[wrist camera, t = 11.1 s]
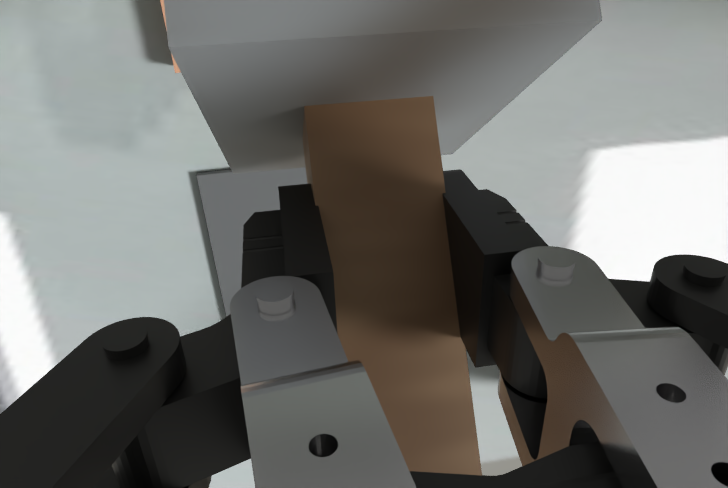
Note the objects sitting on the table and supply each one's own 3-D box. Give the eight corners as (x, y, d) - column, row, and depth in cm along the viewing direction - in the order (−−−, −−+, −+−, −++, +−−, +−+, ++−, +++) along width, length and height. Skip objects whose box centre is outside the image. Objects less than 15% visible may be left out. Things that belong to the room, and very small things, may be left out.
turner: (591, -47, 8) (690, 601, 8) (447, 118, 16) (490, 445, 16) (161, -27, 8) (230, 694, 7) (229, 136, 16) (264, 481, 15)
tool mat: (382, 152, 32) (383, 155, 32) (388, 301, 37) (389, 305, 37) (197, 172, 31) (196, 175, 31) (228, 323, 36) (228, 327, 35)
